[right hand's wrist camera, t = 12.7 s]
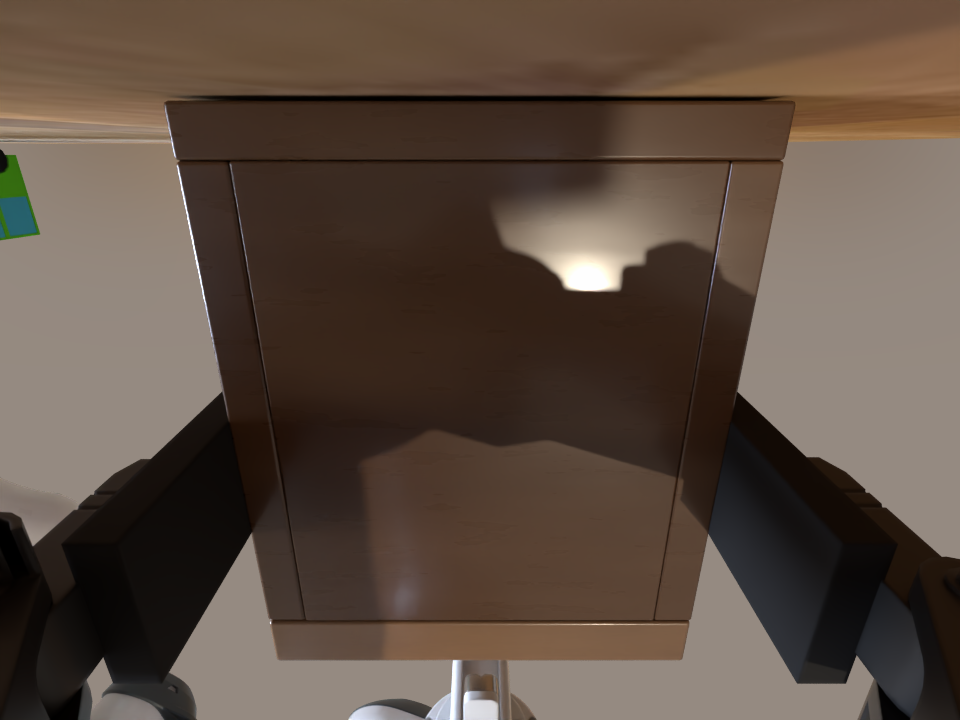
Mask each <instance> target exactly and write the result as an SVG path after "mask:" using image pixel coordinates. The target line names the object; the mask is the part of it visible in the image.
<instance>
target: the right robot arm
mask: <svg viewBox="0 0 960 720" xmlns="http://www.w3.org/2000/svg"><path fill="white" fill-rule="evenodd" d="M250 534H251V528H250V523H249V518H248V513H247V509H246V504H245V499H244V494H243V489H242V484H241V479H240V474H239V469H238V464H237V459H236V455H235V450H234V445H233V440H232V435H231V430H230V425H229V421H228V416H227V411H226V406H225V401H224V396H223V391H222V392H221V393H220V394H219V395H218V396H217V397H216V398H215V399H214V400H213V401H212V402H211V403H210V404H209V405H208V406H206V407H205V408H204V409H203V410H202V411H201V412H200V413H199V414H198V415H197V416H196V417H195V418H194V419H193V420H192V421H191V422H190V423H188V424H187V425H186V426H185V427H184V428H183V429H182V430H181V431H180V432H179V433H178V434H177V435H176V436H175V437H174V438H173V439H172V440H171V441H169V442H168V443H167V444H166V445H165V446H164V447H163V448H162V449H161V450H160V451H159V452H158V453H157V454H156V455H155V456H154V457H153V458H151V459H140V460H139V461H137V462H135V463H133V464H131V465H130V466H128V467H126V468H124V469H122V470H120V471H119V472H117V473H115V474H114V475H112V476H111V477H110V478H109V479H108V480H107V481H106V482H104V483H103V484H102V485H101V486H100V487H99V488H98V489H97V490H95V493H94V495H90V496H89V497H88V498H86V499H85V500H84V501H83V502H82V503H81V504H80V505H79V506H78V509H77V510H73V511H72V512H71V513H70V514H69V515H67V516H66V517H65V518H64V519H63V520H62V521H61V522H60V523H58V524H57V525H56V526H55V527H54V528H53V529H52V530H51V531H49V532H48V533H47V534H46V535H45V536H44V537H43V538H42V539H40V540H39V541H38V542H37V543H36V544H35V545H34V546H32V543H31V541H30V538H29V536H28V533H27V531H26V528H25V526H24V523H23V521H22V518H21V517H19V516H17V515H15V514H14V513H12V512H0V720H90V716H91V708H92V697H91V691H90V688H89V685H88V683H87V678H88V677H89V676H90V674H91V673H92V672H93V670H94V669H95V667H96V666H97V665H98V663H99V662H100V661H101V659H102V658H103V657H104V660H105V663H106V665H107V668H108V671H109V673H110V676H111V679H112V681H113V684H162V683H163V681H164V680H165V678H166V676H167V675H168V673H169V671H170V669H171V668H172V666H173V664H174V663H175V661H176V659H177V658H178V656H179V654H180V653H181V651H182V649H183V648H184V646H185V644H186V642H187V641H188V639H189V637H190V636H191V634H192V632H193V631H194V629H195V627H196V625H197V624H198V622H199V621H200V619H201V617H202V615H203V614H204V612H205V610H206V609H207V607H208V605H209V604H210V602H211V600H212V599H213V597H214V595H215V593H216V592H217V590H218V588H219V587H220V585H221V583H222V582H223V580H224V578H225V577H226V575H227V573H228V572H229V570H230V568H231V567H232V565H233V563H234V561H235V560H236V558H237V556H238V555H239V553H240V551H241V550H242V548H243V546H244V545H245V543H246V541H247V539H248V538H249V536H250ZM708 534H709V535H710V537H711V539H712V541H713V542H714V544H715V546H716V547H717V549H718V551H719V552H720V554H721V556H722V557H723V559H724V561H725V562H726V564H727V566H728V568H729V569H730V571H731V573H732V574H733V576H734V578H735V579H736V581H737V583H738V584H739V586H740V588H741V589H742V591H743V593H744V595H745V596H746V598H747V600H748V601H749V603H750V605H751V606H752V608H753V610H754V611H755V613H756V615H757V617H758V618H759V620H760V622H761V623H762V625H763V627H764V628H765V630H766V632H767V633H768V635H769V637H770V638H771V640H772V642H773V643H774V645H775V647H776V649H777V650H778V652H779V654H780V655H781V657H782V659H783V660H784V662H785V664H786V665H787V667H788V669H789V671H790V672H791V674H792V676H793V677H794V679H795V681H796V682H797V683H798V684H799V683H801V684H803V683H806V684H808V683H809V684H811V683H813V684H817V683H818V684H821V683H822V684H827V683H828V684H832V683H833V684H838V683H839V684H845V683H846V682H847V679H848V676H849V674H850V671H851V669H852V666H853V663H854V661H855V658H856V655H857V656H858V657H859V659H860V660H861V661H862V663H863V664H864V665H865V667H866V668H867V669H868V671H869V672H870V673H871V675H872V676H873V677H874V680H873V683H872V685H871V688H870V690H869V693H868V695H867V698H866V700H865V703H864V705H863V708H862V710H861V713H860V715H859V718H858V720H960V559H956V558H950V557H941V556H940V555H939V554H938V553H937V552H936V551H934V550H933V549H932V548H931V547H930V546H929V545H928V544H927V543H925V542H924V541H923V540H922V539H921V538H920V537H919V536H918V535H916V534H915V533H914V532H913V531H912V530H911V529H909V528H908V527H907V526H906V525H905V524H904V523H903V522H902V521H901V520H899V519H898V518H897V517H896V516H895V515H894V514H893V513H892V512H890V511H889V510H888V509H887V508H882V504H881V503H880V502H879V501H878V500H877V499H876V498H875V497H873V496H872V495H871V494H870V493H866V492H865V489H864V488H863V487H862V486H861V485H860V484H859V483H858V482H856V481H855V480H854V479H853V478H852V477H851V476H850V475H848V474H847V473H846V472H845V471H843V470H841V469H839V468H837V467H836V466H834V465H832V464H830V463H828V462H826V461H825V460H823V459H821V458H819V457H806V456H805V455H804V454H803V453H802V452H800V451H799V450H798V449H797V448H796V447H795V446H794V445H793V444H792V443H791V442H790V441H789V440H788V439H787V438H786V437H785V436H784V435H782V434H781V433H780V432H779V431H778V430H777V429H776V428H775V427H774V426H773V425H772V424H771V423H770V422H769V421H768V420H767V419H765V417H763V416H762V415H761V414H760V413H759V412H758V411H757V410H756V409H755V408H754V407H753V406H752V405H751V404H750V403H749V402H748V401H746V400H745V399H744V398H743V397H742V396H741V395H740V394H739V393H738V392H737V395H736V400H735V405H734V409H733V414H732V419H731V423H730V427H729V432H728V437H727V442H726V447H725V452H724V457H723V462H722V467H721V472H720V477H719V482H718V486H717V491H716V496H715V501H714V506H713V511H712V516H711V521H710V526H709V531H708Z"/></svg>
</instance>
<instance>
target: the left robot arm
mask: <svg viewBox="0 0 960 720" xmlns="http://www.w3.org/2000/svg"><path fill="white" fill-rule="evenodd" d="M79 505H80V504H79V503H78V502H76V501H75V500H73V499H71V498H69V497H67V496H64V495H62V494H58V493H51V492H44V491H39V490H35V489H31V488H27V487H23V486H20V485H17V484H15V483H12V482H9V481H7V480H4V479H2V478H0V512H12V513H14V514H15V515H17V516H19V517H21V518H22V521H23V523H24V526H25V528H26V531H27V533H28V536H29V538H30V541H31V543H32V546H34V545H35V544H36V543H37V542H38V541H39V540H40V539H42V538H43V537H44V536H45V535H46V534H47V533H48V532H49V531H51V530H52V529H53V528H54V527H55V526H56V525H57V524H58V523H60V522H61V521H62V520H63V519H64V518H65V517H66V516H67V515H69V514H70V513H71V512H72V511H73V510H77V509H78V506H79ZM90 720H197V719H196V704H195V700H194V697H193V694H192V692H191V690H190V688H189V687H188V685H187V684H186V683H185V682H183V681H182V680H181V679H180V678H179V677H177V676H176V675H175V674H173V673H171V672H169V673H168V675H167V676H166V678H165V680H164V681H163V683H162V684H113V683H112V684H111V685H110V686H109V687H108V688H107V689H106V690H105V691H104V692H103V694H102V699H101V700H100V701H99V702H98V703H97V704H96V705H95V706H94V707H93V709H92V710H91V716H90ZM348 720H536V718H535V716H534V715H533V713H532V712H531V710H530V709H529V708H528V707H527V705H526V704H525V703H524V702H523V701H521V700H520V699H519V698H518V697H516V696H515V695H514V694H512V693H510V681H509V663H508V660H453V671H452V690H451V693H449V694H448V695H446V696H445V697H443V698H442V699H441V700H440V701H439V702H438V703H437V704H436V705H435V706H434V707H433V708H431V707H429V706H427V705H424V704H422V703H418V702H415V701H411V700H407V699H387V700H380V701H375V702H372V703H368V704H366V705H363V706H361V707H359V708H358V709H356V710H355V711H354V712H353V713H352V714H351V716H350V717H349V719H348Z"/></svg>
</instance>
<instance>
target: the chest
mask: <svg viewBox="0 0 960 720" xmlns="http://www.w3.org/2000/svg"><path fill="white" fill-rule="evenodd" d="M164 108H165V113H166V118H167V123H168V128H169V133H170V138H171V143H172V147H173V152H174V157H175V158H176V159H177V160H180V161H179V162H177V170H178V175H179V180H180V185H181V190H182V195H183V200H184V205H185V209H186V214H187V219H188V224H189V229H190V234H191V239H192V244H193V249H194V254H195V259H196V263H197V268H198V273H199V278H200V283H201V288H202V293H203V298H204V303H205V308H206V313H207V317H208V322H209V327H210V332H211V337H212V342H213V347H214V352H215V357H216V362H217V367H218V371H219V376H220V381H221V386H222V391H223V396H224V401H225V406H226V411H227V416H228V421H229V425H230V430H231V435H232V440H233V445H234V450H235V455H236V459H237V464H238V469H239V474H240V479H241V484H242V489H243V494H244V499H245V504H246V509H247V513H248V518H249V523H250V528H251V533H252V538H253V543H254V548H255V553H256V558H257V563H258V568H259V573H260V578H261V582H262V587H263V592H264V597H265V602H266V607H267V612H268V617H269V619H271V620H303V619H305V617H306V620H653V619H655V620H690V619H691V615H692V611H693V606H694V601H695V596H696V591H697V586H698V581H699V576H700V571H701V566H702V562H703V557H704V552H705V547H706V542H707V537H708V531H709V526H710V521H711V516H712V511H713V506H714V501H715V496H716V491H717V486H718V482H719V477H720V472H721V467H722V462H723V457H724V452H725V447H726V442H727V437H728V432H729V427H730V423H731V419H732V414H733V409H734V405H735V400H736V395H737V390H738V385H739V380H740V375H741V370H742V365H743V360H744V355H745V351H746V346H747V341H748V336H749V331H750V326H751V321H752V316H753V311H754V306H755V302H756V297H757V291H758V287H759V282H760V277H761V272H762V267H763V262H764V257H765V252H766V248H767V243H768V238H769V233H770V228H771V223H772V218H773V213H774V208H775V203H776V199H777V194H778V189H779V184H780V179H781V174H782V169H783V162H782V161H780V160H782V159H784V157H785V153H786V148H787V144H788V139H789V134H790V129H791V124H792V119H793V114H794V109H795V102H793V101H166V102H164Z"/></svg>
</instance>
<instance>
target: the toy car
mask: <svg viewBox="0 0 960 720" xmlns="http://www.w3.org/2000/svg"><path fill="white" fill-rule="evenodd" d="M39 234H40V232H39V229H38V226H37V222H36V219H35V216H34V213H33V209H32V206H31V203H30V200H29V197H28V193H27V190H26V187H25V183H24V180H23V177H22V174H21V171H20V167H19V164H18V161H17V158H16V155H5V154H4V153H3V151H2V150H0V240H5V239H12V238H19V237H26V236H32V235H39Z"/></svg>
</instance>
